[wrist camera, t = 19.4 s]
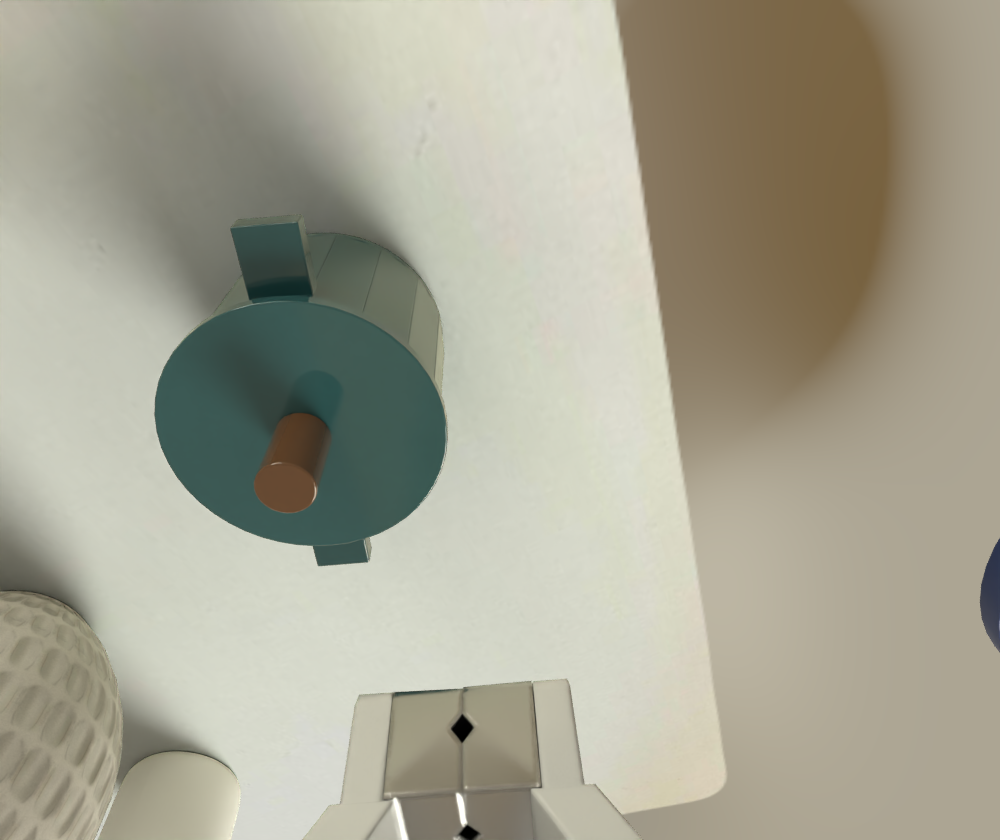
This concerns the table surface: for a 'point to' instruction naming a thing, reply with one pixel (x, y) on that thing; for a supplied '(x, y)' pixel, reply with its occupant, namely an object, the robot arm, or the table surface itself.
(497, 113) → the table surface
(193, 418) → the lid
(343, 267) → the cooking pot
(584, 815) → the robot arm
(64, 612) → the vase
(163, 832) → the cup
